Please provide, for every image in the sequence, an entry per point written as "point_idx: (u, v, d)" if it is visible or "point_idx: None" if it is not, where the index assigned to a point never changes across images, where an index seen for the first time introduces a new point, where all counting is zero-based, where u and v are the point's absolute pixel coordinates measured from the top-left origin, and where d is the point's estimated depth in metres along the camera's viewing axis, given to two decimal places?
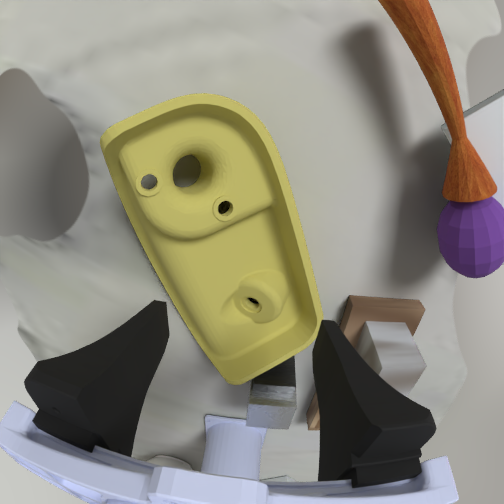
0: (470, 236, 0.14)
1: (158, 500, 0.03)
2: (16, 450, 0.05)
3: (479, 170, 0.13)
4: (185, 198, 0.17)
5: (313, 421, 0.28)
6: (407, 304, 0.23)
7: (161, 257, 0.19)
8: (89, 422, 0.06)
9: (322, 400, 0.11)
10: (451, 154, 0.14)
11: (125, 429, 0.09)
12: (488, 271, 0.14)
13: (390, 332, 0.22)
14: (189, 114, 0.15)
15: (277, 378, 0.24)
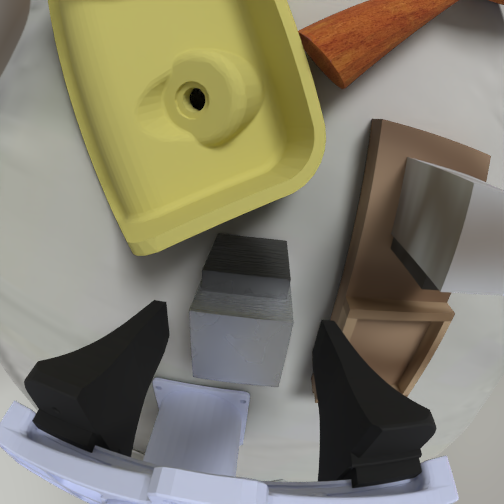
0: None
1: (158, 500, 0.03)
2: (16, 450, 0.05)
3: None
4: None
5: None
6: None
7: (68, 33, 0.08)
8: (89, 421, 0.06)
9: (322, 400, 0.11)
10: None
11: (125, 429, 0.09)
12: None
13: (453, 171, 0.11)
14: None
15: (252, 265, 0.13)
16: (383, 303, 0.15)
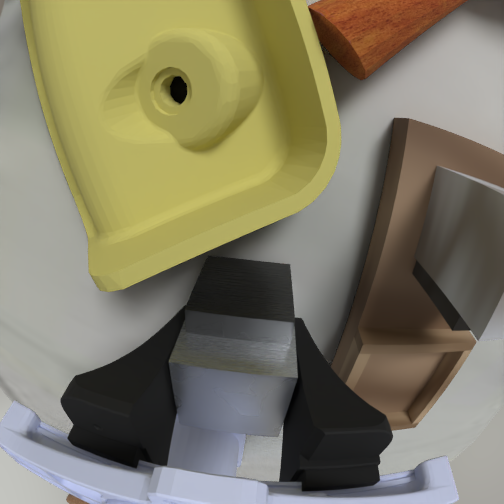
0: None
1: (158, 500, 0.03)
2: (16, 450, 0.05)
3: None
4: None
5: None
6: None
7: (32, 19, 0.06)
8: (137, 437, 0.06)
9: None
10: None
11: (164, 439, 0.08)
12: None
13: (490, 184, 0.08)
14: None
15: (248, 302, 0.10)
16: (400, 334, 0.12)
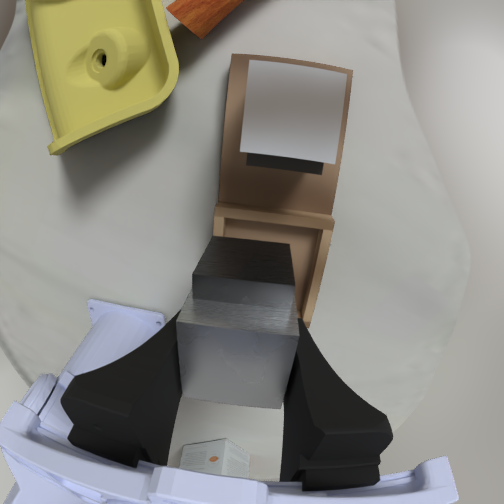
0: None
1: (158, 500, 0.03)
2: (16, 450, 0.05)
3: None
4: None
5: None
6: None
7: (34, 26, 0.11)
8: (137, 437, 0.06)
9: (286, 399, 0.11)
10: None
11: (163, 439, 0.08)
12: None
13: None
14: None
15: (251, 269, 0.11)
16: (252, 207, 0.18)
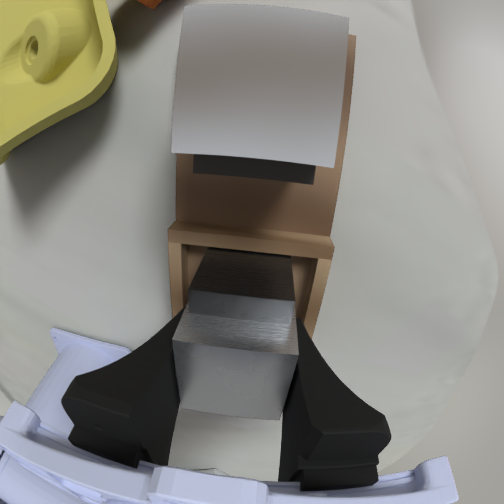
0: None
1: (158, 500, 0.03)
2: (16, 450, 0.05)
3: None
4: None
5: None
6: None
7: None
8: (138, 437, 0.06)
9: None
10: None
11: (164, 439, 0.08)
12: None
13: None
14: None
15: (249, 283, 0.10)
16: (219, 228, 0.13)
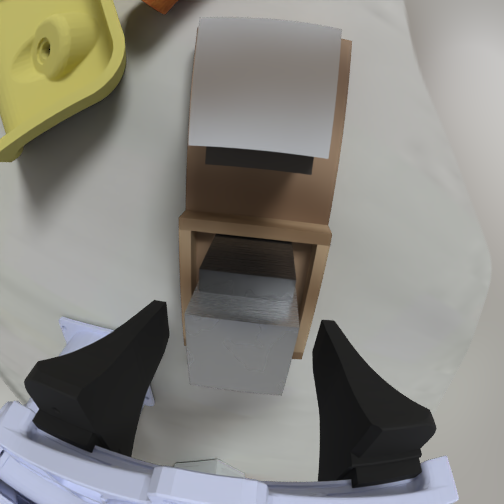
0: None
1: (158, 500, 0.03)
2: (16, 450, 0.05)
3: None
4: None
5: (184, 320, 0.16)
6: None
7: None
8: (89, 421, 0.06)
9: (322, 400, 0.11)
10: None
11: (125, 429, 0.09)
12: None
13: None
14: None
15: (254, 264, 0.12)
16: (226, 216, 0.14)
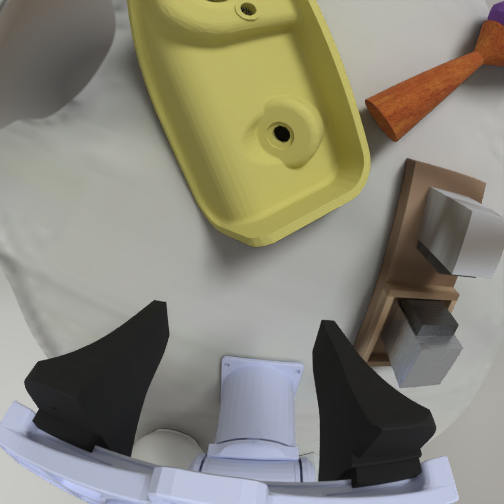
0: None
1: (158, 500, 0.03)
2: (16, 450, 0.05)
3: None
4: (205, 0, 0.11)
5: (367, 349, 0.23)
6: (467, 176, 0.18)
7: (171, 73, 0.14)
8: (89, 421, 0.06)
9: (322, 400, 0.11)
10: None
11: (125, 429, 0.09)
12: None
13: (460, 197, 0.16)
14: None
15: (439, 318, 0.18)
16: (410, 286, 0.21)
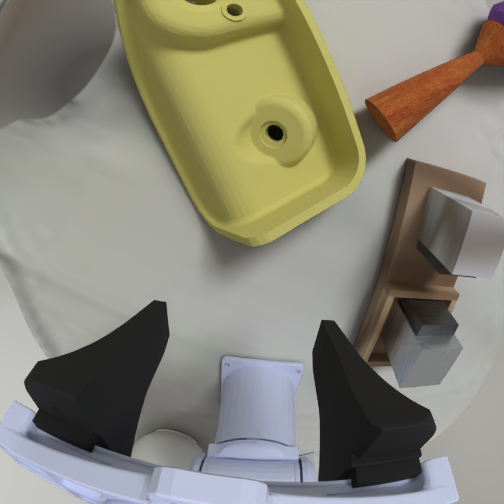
0: None
1: (158, 500, 0.03)
2: (16, 450, 0.05)
3: None
4: (191, 4, 0.11)
5: (367, 349, 0.23)
6: (467, 176, 0.18)
7: (161, 78, 0.14)
8: (89, 421, 0.06)
9: (322, 400, 0.11)
10: None
11: (125, 429, 0.09)
12: None
13: (460, 197, 0.16)
14: None
15: (439, 318, 0.18)
16: (410, 286, 0.21)
